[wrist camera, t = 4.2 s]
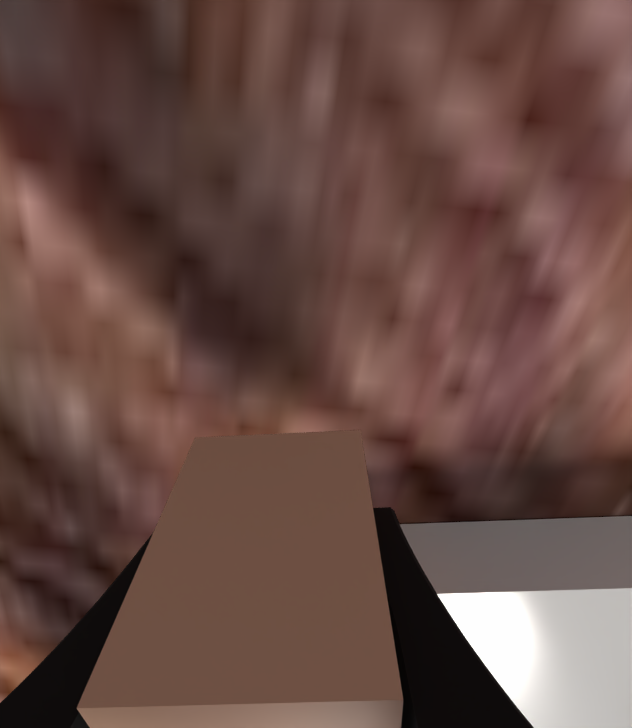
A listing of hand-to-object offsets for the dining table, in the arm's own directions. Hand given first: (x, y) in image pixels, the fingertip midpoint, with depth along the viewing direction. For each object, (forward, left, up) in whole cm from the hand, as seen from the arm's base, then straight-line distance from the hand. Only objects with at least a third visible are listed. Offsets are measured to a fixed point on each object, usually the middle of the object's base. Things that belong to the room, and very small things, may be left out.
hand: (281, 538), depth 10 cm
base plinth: (+10, -12, -5) cm, 16 cm away
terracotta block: (0, 0, -2) cm, 2 cm away
